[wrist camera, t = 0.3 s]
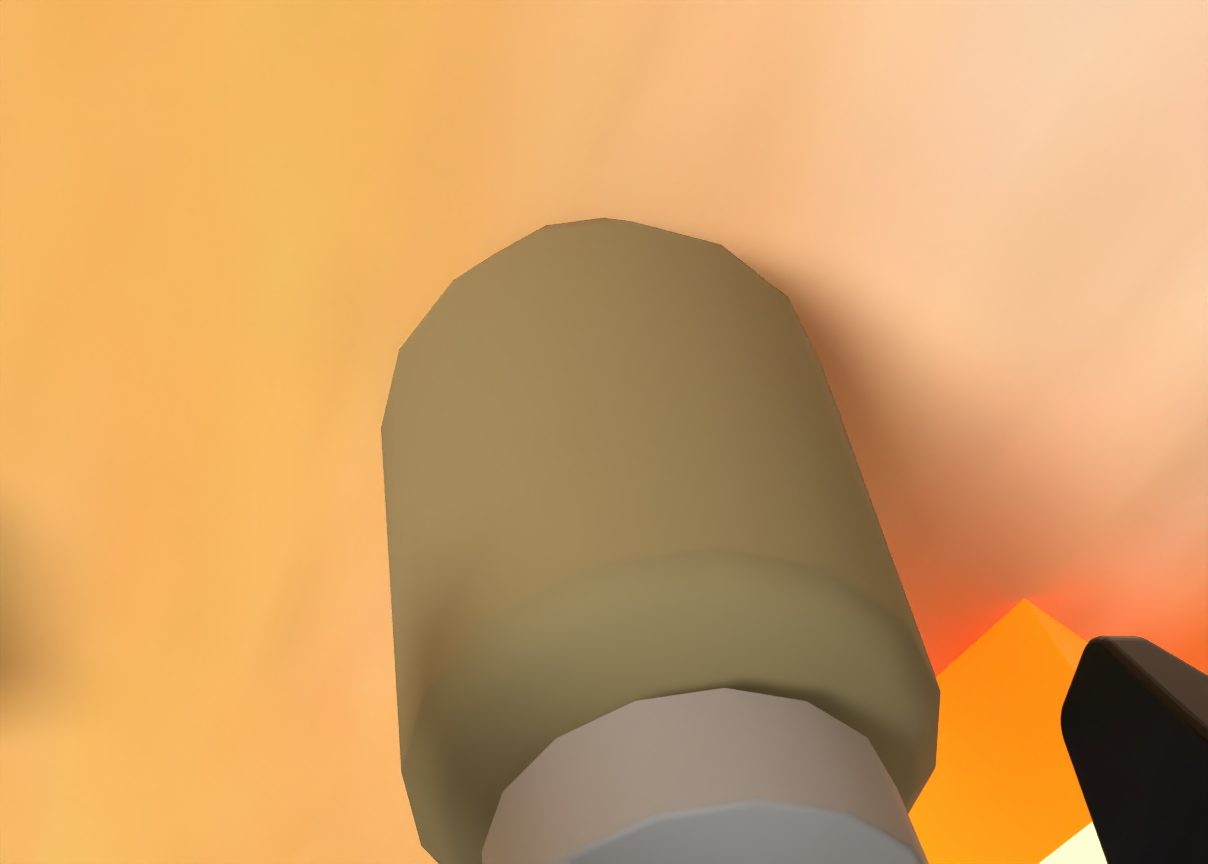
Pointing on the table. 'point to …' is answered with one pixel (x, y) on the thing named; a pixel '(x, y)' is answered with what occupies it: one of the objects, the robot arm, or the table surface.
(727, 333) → the squeeze bottle
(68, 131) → the table surface
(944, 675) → the orange juice
